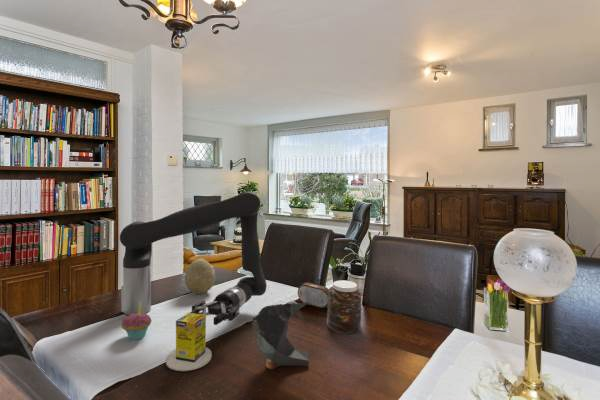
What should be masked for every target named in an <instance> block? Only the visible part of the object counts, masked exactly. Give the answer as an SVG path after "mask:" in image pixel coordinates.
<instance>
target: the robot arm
mask: <svg viewBox="0 0 600 400" xmlns="http://www.w3.org/2000/svg"><path fill="white" fill-rule="evenodd" d="M260 208H261V199H260V198H259V196H258V195H257V194H256V193H254V192H252V191H245V192H242V193H239V194H237V195H235V196H232V197H229V198H227V199H224V200H219V201H213V202H208V203H204V204H198V205H195V206H191V207H187V208H184V209H181V210H179V211H175V212H173V213H171V214H168V215H167V216H164V217H162V218H159V219H156V220H151V221H145V222H144V221H134V222H131V223H129V224H128V225H126V226H125V227H124V228H122V230H121V232H120V233H119V242H120V243H121V245H122V246H124V248H125V249H124V250H125V251H124V256H123V259H122V276H123V278H122V279H123V280H122V281H123V283H122V284H123V285H121V287H120V290H121V291H120V295H121V297H120V298H121V301H120V303H121V312H122V313H124V315H127V316H129V315H131V314H135V313H139V305H140V302H141V300H142V307H141V313H144V314H147V313H148V312H150V311H151V309H152V284H151V283H152V281H151V278H152V274H151V271H152V269H151V268H152V267H151V266H152V265H151V262H152V261H151V260H152V253H153V251H152V250H153V244H154V243H155V242H159V241H161V240H163V239H164V240H165V239H169V238H174V237H179V236H183V235H187V234H191V233H194V232H195V233H196V232H199V231H202V230H205V229H208V228H210V227H214V226H215V225H218V224H220V223H222V222H223V221H226V220H230V219H235V218H239V221H240V229H241V249H240V250H241V265H242V270H244V271H246V272H250V273H251V274H252V275H253V276H246V277H244V276H243V277H242V278H240V279H239V281H238V282H237V283H236V285H234V286H232V287H230V288H228V289H225V290H224V291H223V292H220V293H219V294H217V295H216V296H215V298H214V299H213V301H211V302H209V303H207V302H206V300H204V299H203V300H201V301H199V302H197V303H195V304H193V305H191V311H190V312H189V313H195V314H202V315H206V317H207V316H211V315H213V316H214V317H213V325H214V326H217V325H218V324H221V323H222V322H224V321H227V320H228V321H229V322H232V321H233V320H234V319H235V318H237V317H238V316H239V315H240V308H242V306H243V305H245V304H246V303H247V302H248V301H250V299H251V298H252V296H253V297H255V296H256V297H257V296H258V297H259V296H263V295H264V294H265V293H266V291H267V286H268V285H267V280H266V278H265V274H264V271H263V268H262V264H261V250H260V249H261V248H260V242H259V235H258V234H259V233H258V213H259V211H260Z"/></svg>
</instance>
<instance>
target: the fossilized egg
mask: <svg viewBox="0 0 600 400" xmlns="http://www.w3.org/2000/svg"><path fill="white" fill-rule="evenodd" d="M215 281H216V273H215V270H214V268H213V265H212V264H211V263H210V262H208V260H206V259H204V258H198V259H195V260H194V261H192V262H191V263H190V264H189V265H188V267H187V269H186V270H185V273H184V284H185V286H186V288H187V289H188V290H189V292H191V293H193V294H196V295H203V294H205V293H208V291H210V290H211V289H212V288H213V286H214V284H215Z"/></svg>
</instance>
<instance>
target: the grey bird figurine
mask: <svg viewBox="0 0 600 400" xmlns="http://www.w3.org/2000/svg"><path fill="white" fill-rule="evenodd" d="M308 303H309V302H305V303H303V302H301V303H298V302H296V301H295V299H294V300H290V301H288V302H286V303H284V304H282V303H279V304H278V303H277V304H271V305H266V306H264V307H263V308H261V309H260V311H259V312H258V314H256V315H254V317H252V322H251V326H252V328H253V331H254V334H255V338H256V343H257V344H256V345H257V348H258V351H259V353H261V354H262V356H263V357H265V359H266V361H265V365H266V366H265V367H266V368H267V369H269V370H275V369H276V368H278V367H281V366H282V367H283V366H286V367H287V366H290V367H309V363H310V360H309V358H308V357H309V355H310V354H309V350H303V349H302V350H301V349H295V347H294V346H293V344H292V343H291V341H290V340H289V339H288V337H287V332H288V329H289V327H288V326H289V323H290V321H289V320H290V319H291V317H292V316H293V315H294V314H295V315H296V316H298V318H299V320H300V321H301V322H302V323H303V324H304V326H305V328H306V329H307V330H308V331H310V329H309V327H308V325H307V323H306V320H305V319H304V316H303V314H302V312H301V309H302V308H303V307H305V306H307V305H308Z"/></svg>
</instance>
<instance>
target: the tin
mask: <svg viewBox="0 0 600 400" xmlns="http://www.w3.org/2000/svg"><path fill="white" fill-rule="evenodd" d="M328 291H329V288H328V287H326V286H324V285H319V284H315V283H312V282H304V283H302V284H301V285H300V286H299V287H298V288H297V297H298V300H300V302H301V303H305V302H309V303H308V304H307V305H308V306H312V307H315V308H319V309H325V308H327V307H328Z"/></svg>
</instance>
